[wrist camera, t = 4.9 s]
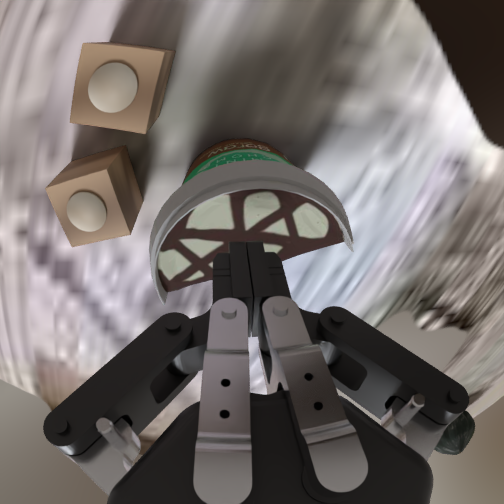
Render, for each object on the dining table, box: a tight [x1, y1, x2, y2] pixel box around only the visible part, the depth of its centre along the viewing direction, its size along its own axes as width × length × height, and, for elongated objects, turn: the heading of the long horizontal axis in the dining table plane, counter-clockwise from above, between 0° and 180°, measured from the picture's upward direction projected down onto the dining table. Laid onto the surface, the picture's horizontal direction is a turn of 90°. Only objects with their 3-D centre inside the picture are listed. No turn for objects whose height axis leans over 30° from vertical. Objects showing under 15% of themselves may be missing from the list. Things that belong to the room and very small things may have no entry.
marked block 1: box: [70, 42, 176, 134], centre depth 17 cm, size 5×5×5 cm
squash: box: [434, 411, 475, 455], centre depth 68 cm, size 14×15×15 cm
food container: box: [149, 138, 354, 305], centre depth 20 cm, size 12×6×10 cm, turn 106°
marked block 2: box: [45, 145, 143, 247], centre depth 21 cm, size 5×5×5 cm
